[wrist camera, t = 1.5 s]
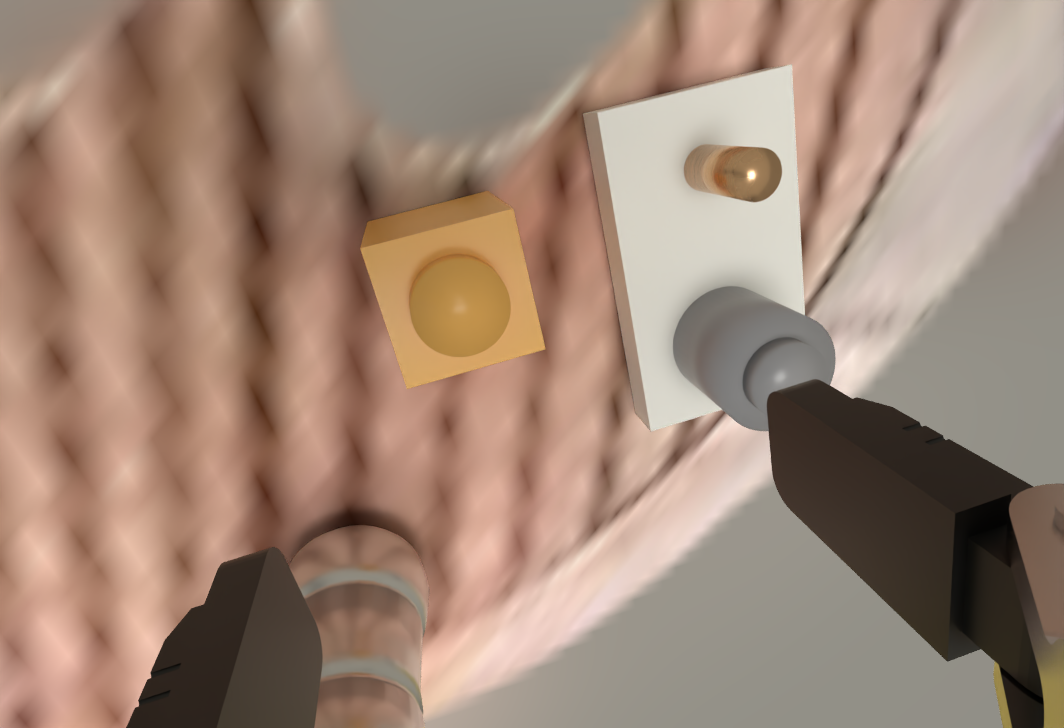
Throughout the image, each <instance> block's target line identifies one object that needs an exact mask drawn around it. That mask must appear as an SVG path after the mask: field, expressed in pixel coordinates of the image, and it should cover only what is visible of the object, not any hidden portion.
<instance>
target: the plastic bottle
mask: <svg viewBox="0 0 1064 728" xmlns="http://www.w3.org/2000/svg"><path fill="white" fill-rule="evenodd" d="M289 568H290V570H291V572H292V574H293V576H294V578H295V580H296V582H297V584H298V586H299V588H300V590H301V592H302V595H303V597H304V599H305V601H306V603H307V605H308V607H309V609H310V611H311V613H312V615H313V617H314V619H315V622H316V624H317V627H318V630H319V634H320V638H321V644H322V654H323V663H322V672H321V680H320V688H319V695H318V703H317V711H316V719H315V727H314V728H425V723H424V718H423V706H422V698H421V664H422V639H423V635H424V632H425V627H426V623H427V615H428V604H429V590H430V589H429V584H428V579H427V576H426V573H425V570H424V568H423V565H422V562H421V560H420V558H419V556H418V554H417V552H416V551H415V549H414V548H413V547H412V546H411V545H410V543H408V542H407V541H406V540H404V539H403V538H402V537H401V536H399V535H397V534H395V533H393V532H391V531H388V530H385V529H382V528H379V527H375V526H368V525H351V526H346V527H341V528H338V529H335V530H332V531H329V532H327V533H324V534H322V535H320V536H318V537H316V538H315V539H313V540H311V541H310V542H308V543H307V544H306V545H305V546H304V547H302V548H301V549H300V550H299V551H298V553H297V554H296V555H295V556H294V558H293V559H292V561H291V563H290V565H289Z"/></svg>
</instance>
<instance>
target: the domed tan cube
mask: <svg viewBox="0 0 1064 728" xmlns="http://www.w3.org/2000/svg"><path fill="white" fill-rule="evenodd" d="M360 249H361V252H362V255H363V258H364V261H365V264H366V267H367V270H368V273H369V276H370V279H371V282H372V285H373V288H374V291H375V294H376V297H377V300H378V303H379V306H380V309H381V312H382V315H383V318H384V321H385V324H386V327H387V330H388V333H389V336H390V339H391V342H392V345H393V348H394V351H395V354H396V357H397V360H398V363H399V366H400V369H401V372H402V375H403V378H404V381H405V384H406V387H407V389H409V388H413V387H416V386H419V385H423V384H426V383H430V382H433V381H437V380H440V379H444V378H447V377H451V376H454V375H458V374H461V373H465V372H468V371H472V370H475V369H479V368H482V367H486V366H489V365H492V364H496V363H499V362H503V361H506V360H510V359H513V358H517V357H520V356H524V355H527V354H531V353H534V352H538V351H541V350H545V345H544V340H543V336H542V332H541V327H540V323H539V319H538V314H537V310H536V306H535V301H534V297H533V293H532V288H531V284H530V280H529V275H528V271H527V266H526V262H525V258H524V253H523V249H522V245H521V240H520V236H519V232H518V227H517V223H516V219H515V214H514V210H513V208H512V207H510V206H509V205H507V204H506V203H504V202H503V201H502V200H500V199H499V198H497V197H496V196H494V195H493V194H491V193H490V192H489V191H485V192H481V193H477V194H473V195H469V196H465V197H461V198H458V199H454V200H450V201H446V202H442V203H438V204H434V205H430V206H426V207H423V208H419V209H415V210H411V211H407V212H403V213H399V214H395V215H391V216H387V217H384V218H380V219H376V220H372V221H368V222H367V225H366V229H365V233H364V236H363V240H362V244H361V248H360Z"/></svg>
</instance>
